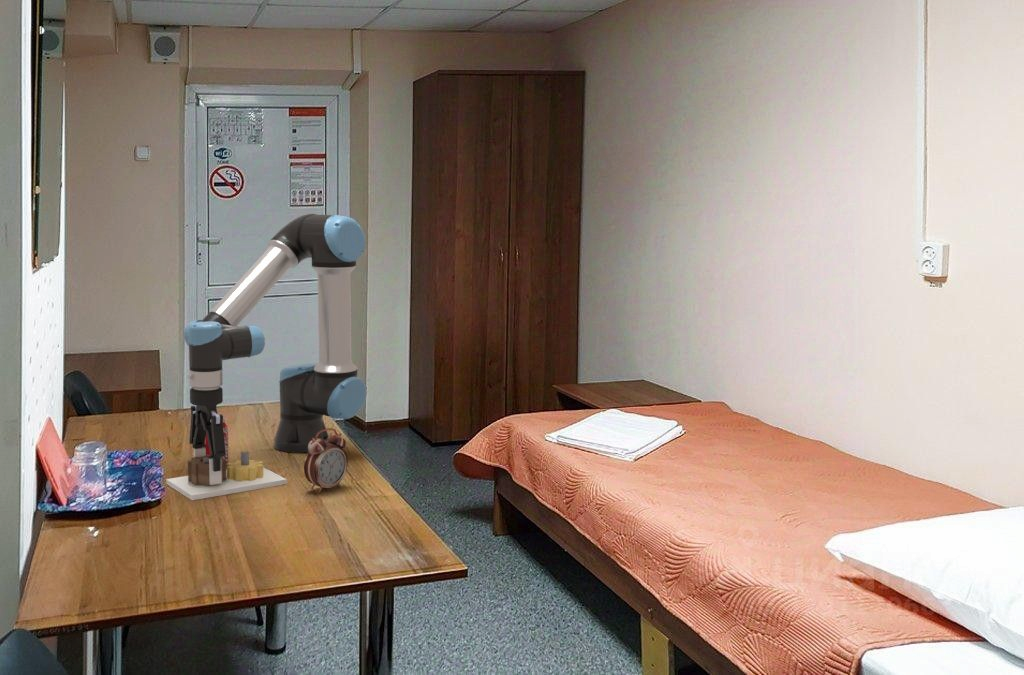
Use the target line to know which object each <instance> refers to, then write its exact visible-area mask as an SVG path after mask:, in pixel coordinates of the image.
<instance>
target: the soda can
mask: <svg viewBox="0 0 1024 675" xmlns="http://www.w3.org/2000/svg"><path fill="white" fill-rule="evenodd" d="M223 431H224V441H225V451H226V455H225V456H222V457H223V459H226V465H227V464H228V463H229V427H228V425H227V423H226V420H225V419H224V418H223ZM204 443H205V444H206V445H207V446H206V447H202V448H206V455H210V456H211V454H210V449H209V444H208V439H207V434H206V437H205V442H204Z"/></svg>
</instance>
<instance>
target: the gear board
mask: <svg viewBox="0 0 1024 675" xmlns="http://www.w3.org/2000/svg"><path fill="white" fill-rule="evenodd" d="M203 462H209V459H208V457H205V458H203ZM165 480H166V485H168V486H169V487H170V488H172V489H173V490H175V491H177V492H178V493H179V494H181V495H183V496H184V497H186V498H187V499H189V500H190V501H197V500H203V499H208V498H214V497H221V496H225V495H231V494H236V493H243V492H249V491H254V490H260V489H266V488H272V487H277V486H283V484H284V485H288V484H287V483H288V479H287V478H285V477H283V476H281V475H279V474H277V473H275V472H273V471H271V470H269V469H268V468H265V467H264V462H263V461H260V460H259V461H256V460H254V459H250V452H249V451H241V452H240V459H239V460H234V462H228V463H227V464H226V480H223V483H220V484H214V485H204V484H197V485H194V484H192V482H188V475H184V476H183V475H182V476H178V477H172V478H166V479H165Z"/></svg>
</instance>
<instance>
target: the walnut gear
mask: <svg viewBox="0 0 1024 675" xmlns="http://www.w3.org/2000/svg"><path fill="white" fill-rule="evenodd" d="M209 456H210V455H205V456H203V457H194V456H193V457H191V459H187V474H188V475H187V476H188V482H192V484H194V485H197V484H204V485H210V482H209V462H203V458H205V457H209ZM226 470H227V464H226V459H223V457H221V473H222V483H223V480H226Z"/></svg>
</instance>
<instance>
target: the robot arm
mask: <svg viewBox="0 0 1024 675" xmlns="http://www.w3.org/2000/svg"><path fill="white" fill-rule="evenodd" d="M362 228H363V227H361V225H360V224H359V223H358V222H357V221H356V219H354V218H352V217H349V216H343V215H341V214H340V215H339V214H336V215H335V214H317V213H308V214H303V215H300V216H298V217H296V218H294V219H293V220H291V221H290V222H288V223H287V224H285V226H283V227H282V228H281V229H280V230H279V231H278V232H276V234H275V235H274V236H273V237H272V238H271V239H270V240H269V241H268V242H267V249H266V250H265V251H264V253H262V254H261V255H260V257H259V258H258V259H257V260H256V261H255V262H254V263H253V264H252V266H250V268H249V269H248V270H247V271H246V272H245V273H244V274H243V275H242V276H241V277H240V279H239V280H237V282H236V283H235V284H234V285H233V286H232V287H231V288H230V290H228V291H227V293H225V295H224V296H222V298H221V299H220V300H219V301H218V302H217V303H216V304H215V306H213V308H212V309H211V310H210V311H209V312H208V313H207V315H206V316H204V318H203V319H195V320H192V321H190V322H188V324H187V325H186V327H185V328H184V331H183V337H184V338H183V339H184V342H185V344H186V345H187V346H188V355H189V356H188V358H189V359H188V361H189V375H187V379H188V380H189V386H190V387H191V388H189V402H190V404H191V406H190V415H191V416H190V426H189V441H188V442H189V444H190V445H191V446H192V448H193V457H203V456H205V455H206V448H202V447H206V446H207V445H206V444H205V443H204V442H205V437H206V434H207V439H208V444H209V449H210V454H211V456H209V457H208V459H209V482H210V485H214V484H220V483H222V473H221V457H222V456H225V455H226V451H225V441H224V431H223V419H224V416H223V414H219V413H218V409H217V406H218V405H220V404H222V403H223V401H224V400H223V399H224V398H223V388H222V386H223V384H224V383H223V382H224V381H223V379H224V378H223V376H224V375H223V374H224V373H223V361H226V360H228V361H229V360H235V359H242V358H251V357H254V356H258V355H260V354H261V353H262V352H263V351H264V349H265V345H266V343H265V342H266V341H265V340H266V339H265V334H264V332H263V331H262V329H260V327H259V326H256V325H243V326H239V325H240V324H241V323H242V322H243V320H244V319H245V318H246V317H247V316H248V315H249V314H250V313H251V312H252V311H253V309H254V308H255V307H257V305H258V304H259V303H260V301H261V300H262V299H263V298H264V297H265V296H266V295H267V294H268V293H269V292H270V291H271V289H272V288H273V287H274V286H275V285H276V284H277V283H278V282H279V280H280V279H281V278H282V277H283V276H284V275H285V274H286V273H287V272H288V270H290V268H291V269H292V268H293V269H294V268H296V267H297V266H298V265H299V263H301V262H302V261H304V260H306V259H311V268H312V269H313V270H314V271H315V272H316V273H317V304H318V305H317V308H318V311H317V312H318V313H317V314H318V315H317V316H318V320H317V322H318V360H319V361H318V362H317V363H301V364H293V365H288V366H285V367H282V369H281V370H280V375H279V381H278V383H279V410H280V414H279V415H280V417H279V418H280V420H279V423H278V424H277V425H278V426H277V429H276V432H275V435H274V439H273V447H274V449H276V450H277V451H281V452H286V453H297V454H298V453H299V454H300V453H308V452H309V451H308V444H309V442H310V441H311V440H312V438H314V439H315V437H316V435H317V433H318V432H319V431H321V430H323V429H327V427H326V424H325V421H324V417H323V416H326V417H329V418H332V419H339V420H340V419H341V420H349V419H351V418H353V417H355V416H357V414H359V412H360V410H361V409H362V408H363V407H364V405H365V402H366V400H367V394H368V392H367V385H366V384H365V383H364V381H363V380H362V379H361V378H359V377H358V367H357V366H356V364H354V363H353V361H352V360H353V359H352V358H353V357H352V300H351V297H352V294H351V293H352V292H351V291H352V288H351V284H352V283H351V282H352V281H351V278H352V277H351V273H352V272H353V271H354V270H355V268H356V267H357V260H359V259H360V258H361V256H362V255H363V253H364V251H365V249H366V248H365V247H366V236H365V233H364V230H363V229H362ZM317 438H320V439H322V440H327V439H328V440H329V438H330V436H329V433H328V430H327V431H323V432H321V433H320V434H319V435H318V437H317ZM325 443H328V442H325Z"/></svg>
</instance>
